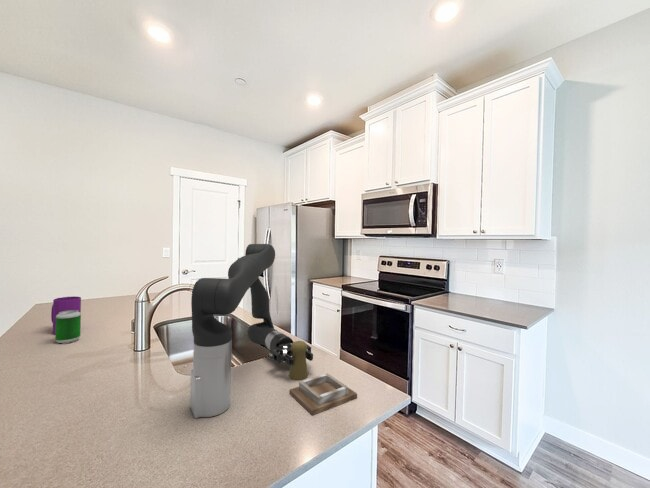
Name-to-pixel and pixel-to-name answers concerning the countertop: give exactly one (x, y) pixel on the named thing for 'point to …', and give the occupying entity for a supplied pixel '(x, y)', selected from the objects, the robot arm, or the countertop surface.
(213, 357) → the robot arm
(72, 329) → the soda can
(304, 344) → the olive pawn figure
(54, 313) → the mug
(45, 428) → the countertop surface
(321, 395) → the spice dock
